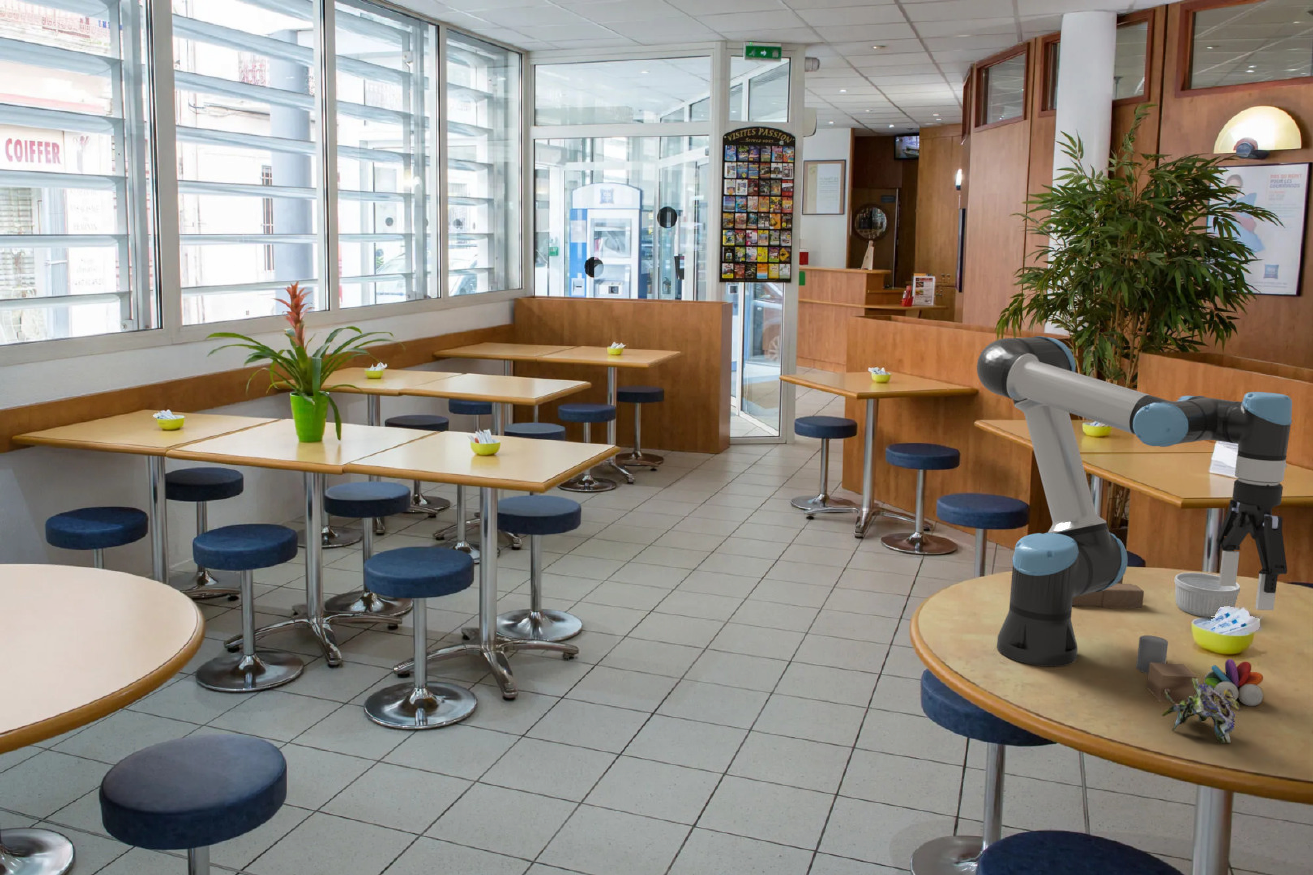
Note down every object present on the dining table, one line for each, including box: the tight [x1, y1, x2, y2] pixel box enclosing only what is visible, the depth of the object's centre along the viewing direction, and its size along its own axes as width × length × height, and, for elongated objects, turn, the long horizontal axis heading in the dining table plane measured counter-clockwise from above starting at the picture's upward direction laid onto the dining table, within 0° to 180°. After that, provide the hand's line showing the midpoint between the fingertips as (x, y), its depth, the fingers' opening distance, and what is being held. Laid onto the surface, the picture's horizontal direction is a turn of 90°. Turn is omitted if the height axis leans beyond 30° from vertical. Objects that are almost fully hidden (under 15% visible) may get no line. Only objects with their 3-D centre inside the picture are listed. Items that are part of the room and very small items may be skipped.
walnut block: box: [1146, 662, 1198, 703], centre depth 193 cm, size 6×6×5 cm
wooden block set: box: [1072, 576, 1145, 609], centre depth 249 cm, size 17×6×18 cm
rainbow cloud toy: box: [1203, 658, 1264, 707], centre depth 193 cm, size 8×10×7 cm
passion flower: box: [1161, 678, 1242, 744], centre depth 177 cm, size 11×11×12 cm
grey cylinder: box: [1136, 634, 1169, 675], centre depth 205 cm, size 5×5×6 cm
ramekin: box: [1174, 572, 1241, 618], centre depth 241 cm, size 13×13×7 cm
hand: (1245, 597), depth 190 cm, fingers open, 13 cm apart
